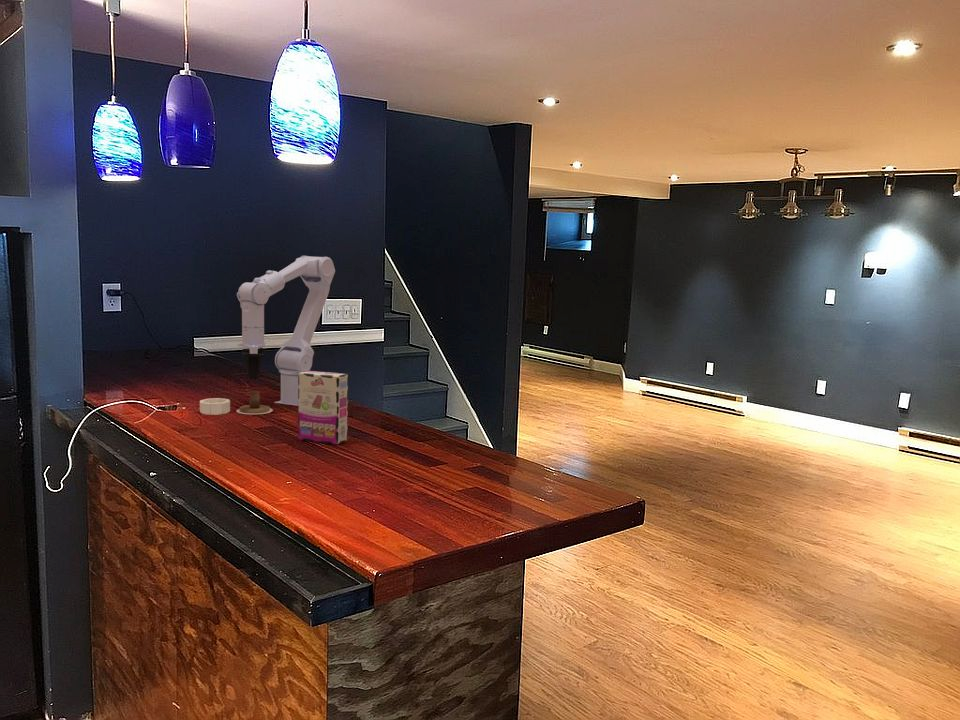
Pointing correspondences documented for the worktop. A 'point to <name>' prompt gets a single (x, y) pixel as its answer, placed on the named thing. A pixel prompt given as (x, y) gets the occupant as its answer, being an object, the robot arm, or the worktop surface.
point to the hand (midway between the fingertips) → (253, 376)
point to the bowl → (214, 406)
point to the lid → (254, 404)
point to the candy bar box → (322, 407)
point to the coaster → (256, 413)
